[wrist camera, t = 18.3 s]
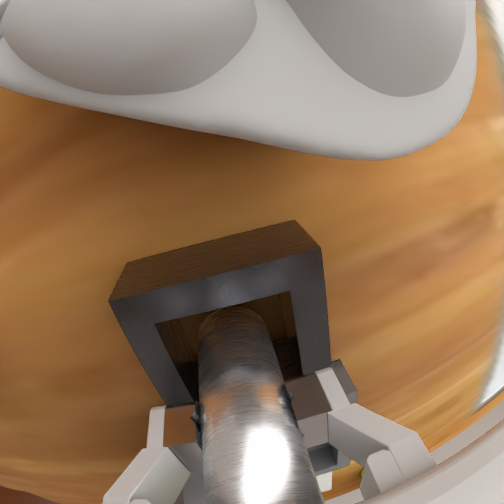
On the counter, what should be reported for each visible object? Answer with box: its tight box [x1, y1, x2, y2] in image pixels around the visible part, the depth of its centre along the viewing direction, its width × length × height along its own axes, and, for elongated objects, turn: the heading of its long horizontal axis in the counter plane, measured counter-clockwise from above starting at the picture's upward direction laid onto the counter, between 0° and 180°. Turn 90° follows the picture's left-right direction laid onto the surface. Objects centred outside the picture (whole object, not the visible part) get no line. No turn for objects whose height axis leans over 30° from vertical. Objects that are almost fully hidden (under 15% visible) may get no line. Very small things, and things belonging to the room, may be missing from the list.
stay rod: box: [198, 306, 325, 504], centre depth 8 cm, size 3×3×8 cm
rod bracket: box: [108, 220, 331, 405], centre depth 12 cm, size 7×7×3 cm
